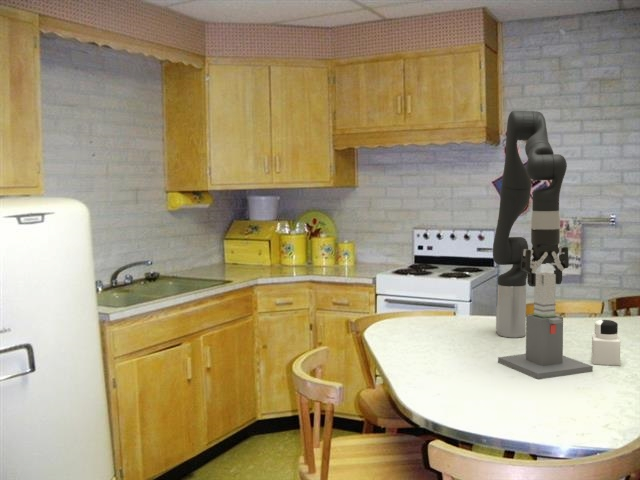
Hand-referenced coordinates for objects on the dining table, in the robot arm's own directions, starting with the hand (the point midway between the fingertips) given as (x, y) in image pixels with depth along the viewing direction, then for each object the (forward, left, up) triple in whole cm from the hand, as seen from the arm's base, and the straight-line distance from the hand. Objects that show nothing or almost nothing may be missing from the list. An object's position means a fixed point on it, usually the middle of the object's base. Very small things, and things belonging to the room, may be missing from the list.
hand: (544, 285), depth 189 cm
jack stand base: (0, 0, -23) cm, 23 cm away
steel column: (0, 0, -15) cm, 15 cm away
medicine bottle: (+3, +19, -24) cm, 30 cm away
